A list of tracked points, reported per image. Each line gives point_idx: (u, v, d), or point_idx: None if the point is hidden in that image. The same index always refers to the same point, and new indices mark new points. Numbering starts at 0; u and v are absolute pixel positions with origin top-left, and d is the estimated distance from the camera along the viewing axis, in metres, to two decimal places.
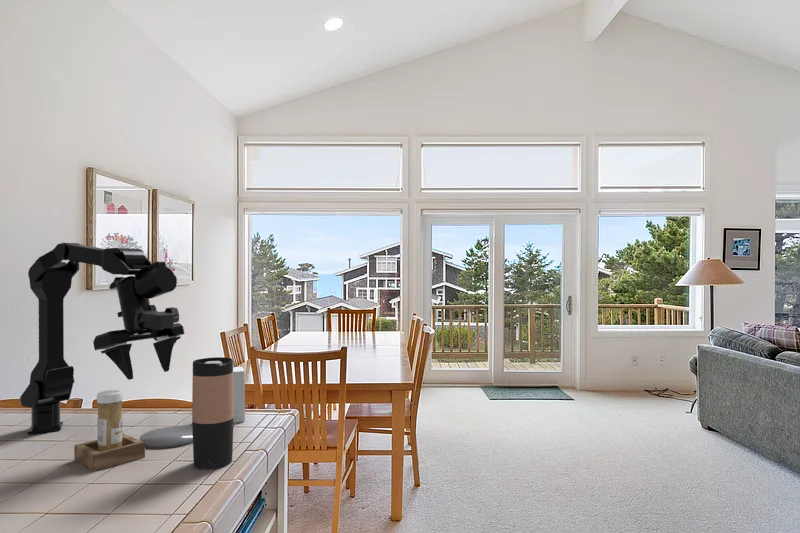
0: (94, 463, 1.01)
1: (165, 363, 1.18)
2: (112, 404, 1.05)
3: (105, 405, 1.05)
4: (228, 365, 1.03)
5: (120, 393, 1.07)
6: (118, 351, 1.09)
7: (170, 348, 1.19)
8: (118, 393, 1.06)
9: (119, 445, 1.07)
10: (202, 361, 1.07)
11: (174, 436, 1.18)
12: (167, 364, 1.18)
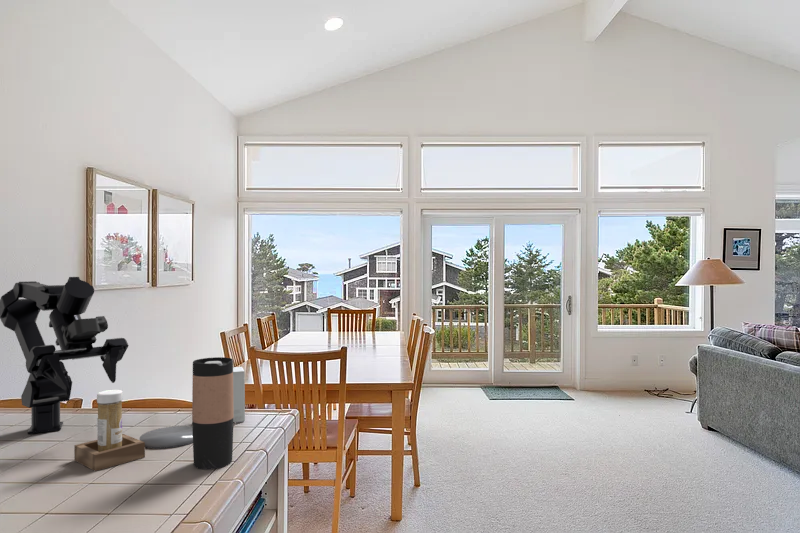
0: (94, 463, 1.01)
1: (111, 375, 1.17)
2: (112, 404, 1.05)
3: (105, 405, 1.05)
4: (228, 365, 1.03)
5: (120, 393, 1.07)
6: (51, 367, 1.11)
7: (113, 359, 1.18)
8: (118, 393, 1.06)
9: (119, 445, 1.07)
10: (202, 361, 1.07)
11: (174, 436, 1.18)
12: (113, 374, 1.16)
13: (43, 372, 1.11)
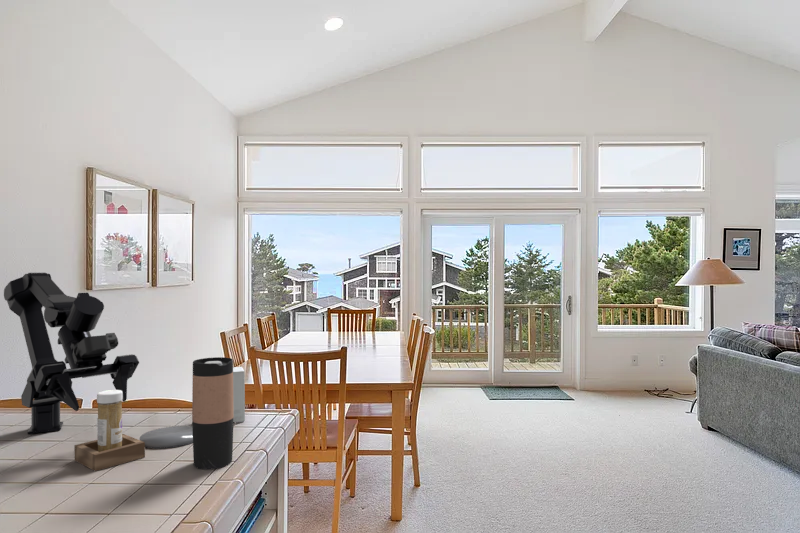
0: (94, 463, 1.01)
1: None
2: (112, 404, 1.05)
3: (105, 405, 1.05)
4: (228, 365, 1.03)
5: (120, 393, 1.07)
6: (61, 387, 1.08)
7: (124, 377, 1.15)
8: (118, 393, 1.06)
9: (119, 445, 1.07)
10: (202, 361, 1.07)
11: (174, 436, 1.18)
12: (124, 393, 1.13)
13: (52, 392, 1.08)
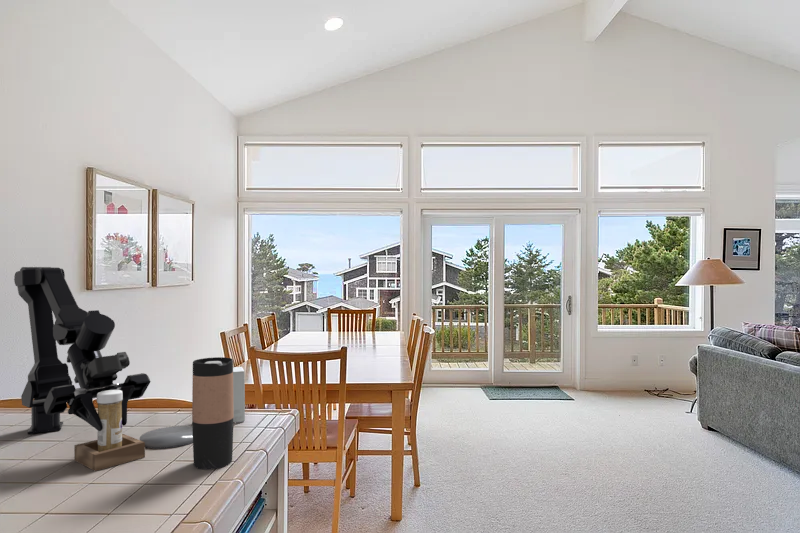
0: (94, 463, 1.01)
1: None
2: (112, 404, 1.05)
3: (105, 405, 1.05)
4: (228, 365, 1.03)
5: (120, 393, 1.07)
6: (84, 406, 1.06)
7: (124, 400, 1.10)
8: (118, 393, 1.06)
9: (119, 445, 1.07)
10: (202, 361, 1.07)
11: (174, 436, 1.18)
12: (124, 416, 1.08)
13: (75, 411, 1.06)
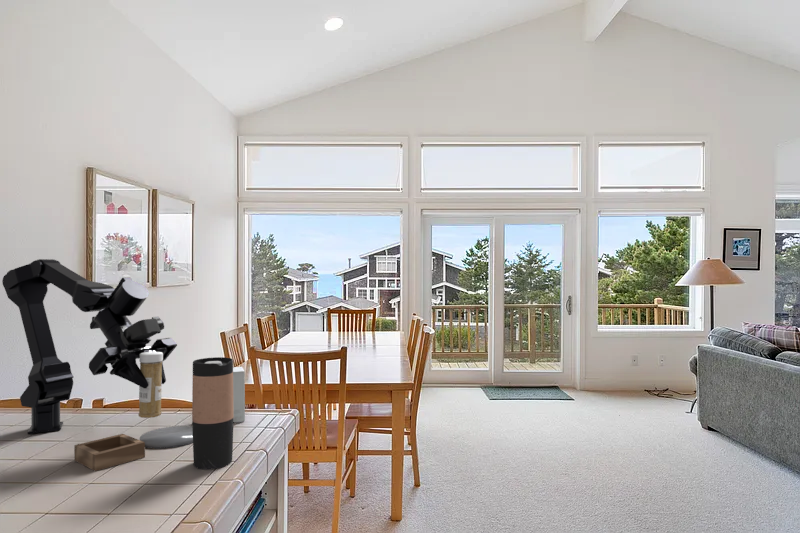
0: (94, 463, 1.01)
1: None
2: (156, 363, 1.13)
3: (150, 364, 1.12)
4: (228, 365, 1.03)
5: (162, 354, 1.15)
6: (126, 367, 1.12)
7: None
8: (161, 353, 1.14)
9: (160, 402, 1.14)
10: (202, 361, 1.07)
11: (174, 436, 1.18)
12: (162, 375, 1.16)
13: (117, 372, 1.12)
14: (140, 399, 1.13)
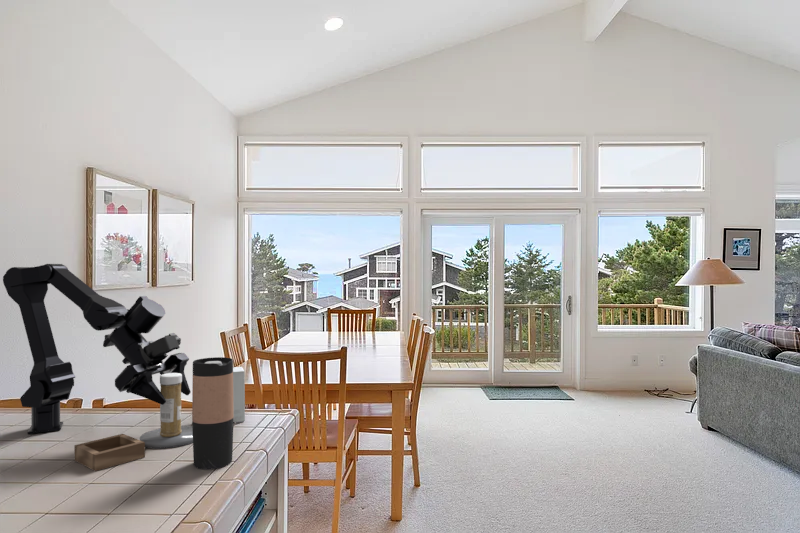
0: (94, 463, 1.01)
1: (184, 388, 1.24)
2: (178, 384, 1.19)
3: (172, 386, 1.18)
4: (228, 365, 1.03)
5: (181, 375, 1.20)
6: (142, 384, 1.15)
7: (182, 374, 1.25)
8: (181, 375, 1.20)
9: (180, 421, 1.20)
10: (202, 361, 1.07)
11: (174, 436, 1.18)
12: (187, 387, 1.24)
13: (133, 390, 1.14)
14: (162, 419, 1.18)
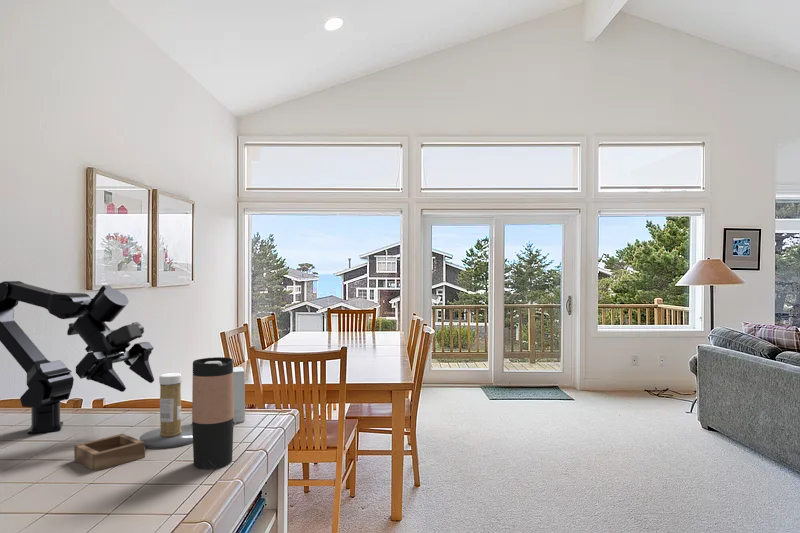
0: (94, 463, 1.01)
1: (148, 376, 1.26)
2: (177, 384, 1.19)
3: (172, 386, 1.18)
4: (228, 365, 1.03)
5: (181, 375, 1.20)
6: (102, 372, 1.17)
7: (146, 362, 1.27)
8: (180, 375, 1.20)
9: (180, 421, 1.20)
10: (202, 361, 1.07)
11: (174, 436, 1.18)
12: (150, 375, 1.26)
13: (93, 377, 1.16)
14: (162, 419, 1.18)
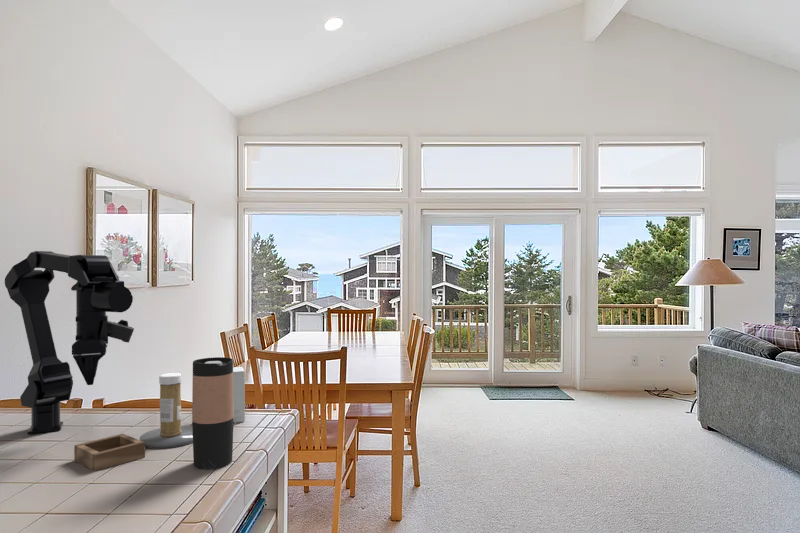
0: (94, 463, 1.01)
1: None
2: (177, 384, 1.19)
3: (172, 386, 1.18)
4: (228, 365, 1.03)
5: None
6: (87, 357, 1.14)
7: None
8: (180, 375, 1.20)
9: (180, 421, 1.20)
10: (202, 361, 1.07)
11: (174, 436, 1.18)
12: (95, 370, 1.24)
13: (78, 357, 1.13)
14: (162, 419, 1.18)
